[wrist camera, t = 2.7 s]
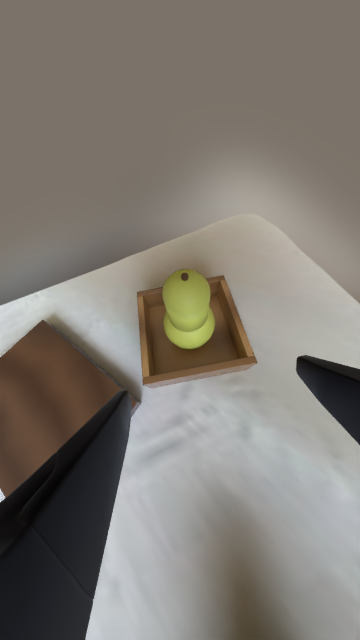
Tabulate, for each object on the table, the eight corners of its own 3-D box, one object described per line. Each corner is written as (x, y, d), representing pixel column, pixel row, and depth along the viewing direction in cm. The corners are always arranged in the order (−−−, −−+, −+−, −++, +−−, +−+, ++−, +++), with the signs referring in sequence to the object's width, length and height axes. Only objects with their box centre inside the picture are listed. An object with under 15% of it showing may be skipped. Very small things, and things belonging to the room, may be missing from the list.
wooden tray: (247, 369, 22) (257, 362, 18) (151, 388, 21) (142, 385, 18) (220, 292, 27) (223, 275, 24) (144, 306, 27) (136, 291, 24)
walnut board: (49, 532, 16) (33, 546, 15) (-33, 402, 23) (-50, 402, 21) (141, 402, 21) (136, 402, 19) (51, 324, 27) (42, 319, 26)
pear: (196, 364, 22) (197, 326, 11) (158, 339, 24) (128, 286, 13) (220, 327, 24) (240, 264, 13) (184, 306, 26) (175, 238, 15)
